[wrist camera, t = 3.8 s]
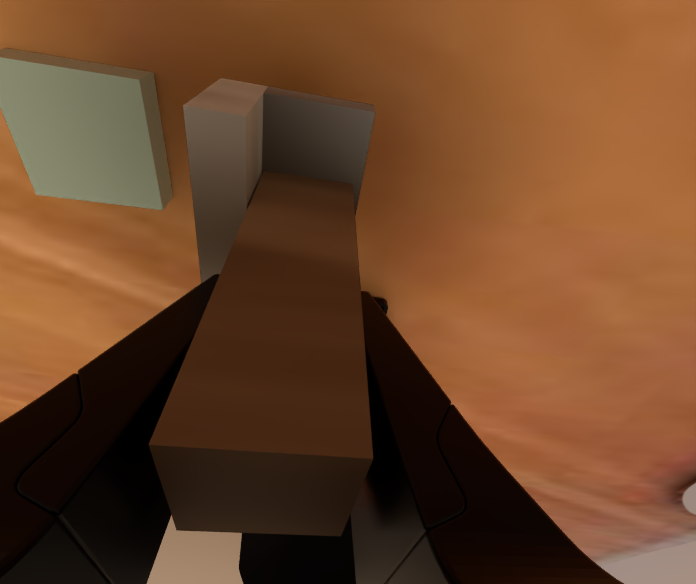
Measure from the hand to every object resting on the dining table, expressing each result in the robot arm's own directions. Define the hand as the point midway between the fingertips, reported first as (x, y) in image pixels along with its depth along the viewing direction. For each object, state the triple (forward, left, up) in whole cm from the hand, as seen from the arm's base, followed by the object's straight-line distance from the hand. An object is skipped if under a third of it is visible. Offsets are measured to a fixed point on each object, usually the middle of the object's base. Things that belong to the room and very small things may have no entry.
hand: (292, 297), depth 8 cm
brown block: (0, +1, -5) cm, 5 cm away
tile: (-2, +10, -13) cm, 17 cm away
